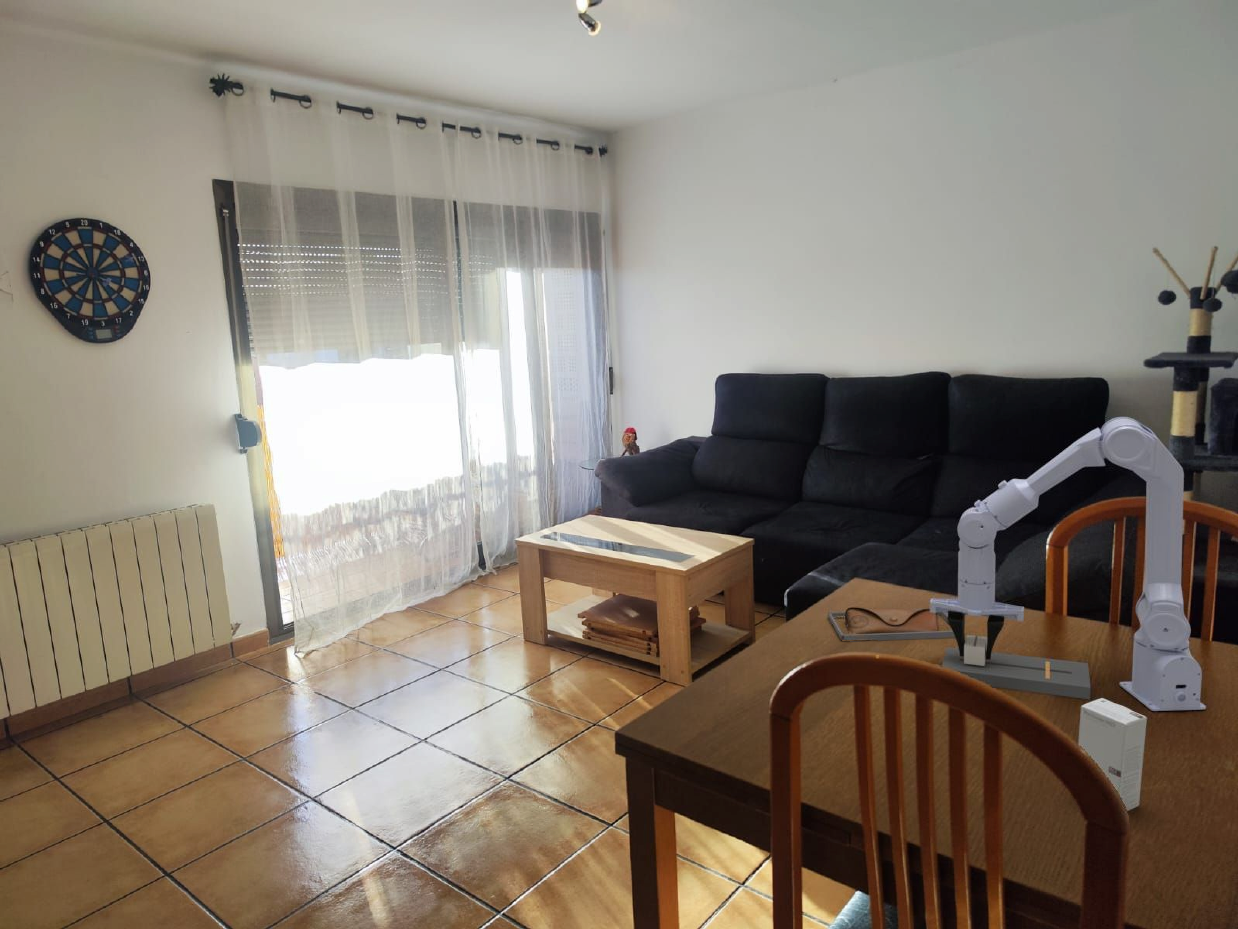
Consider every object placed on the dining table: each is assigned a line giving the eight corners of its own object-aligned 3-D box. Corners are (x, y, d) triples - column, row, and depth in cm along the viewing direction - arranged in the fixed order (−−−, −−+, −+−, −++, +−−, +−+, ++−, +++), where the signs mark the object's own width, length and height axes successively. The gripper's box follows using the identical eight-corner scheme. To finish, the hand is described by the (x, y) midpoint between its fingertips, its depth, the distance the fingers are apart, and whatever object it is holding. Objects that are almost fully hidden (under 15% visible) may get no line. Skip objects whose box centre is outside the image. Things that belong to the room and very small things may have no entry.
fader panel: (1087, 674, 140) (1087, 663, 140) (1090, 699, 131) (1090, 687, 131) (947, 657, 150) (947, 646, 149) (940, 680, 141) (940, 668, 141)
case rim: (964, 637, 158) (964, 631, 158) (841, 641, 160) (841, 635, 160) (941, 613, 171) (941, 608, 171) (828, 618, 173) (828, 612, 172)
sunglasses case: (847, 637, 162) (846, 602, 164) (845, 642, 168) (844, 609, 171) (946, 638, 158) (942, 603, 161) (939, 644, 165) (936, 610, 167)
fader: (986, 654, 144) (986, 636, 144) (984, 666, 140) (984, 647, 139) (966, 652, 146) (966, 634, 145) (963, 663, 141) (964, 645, 141)
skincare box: (1073, 793, 107) (1076, 704, 105) (1096, 783, 109) (1100, 696, 107) (1119, 817, 101) (1123, 724, 99) (1143, 807, 103) (1148, 715, 101)
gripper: (927, 582, 140) (927, 659, 142) (1023, 590, 134) (1021, 670, 136) (932, 570, 146) (932, 644, 149) (1024, 577, 140) (1023, 654, 142)
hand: (975, 655), depth 143 cm, fingers open, 3 cm apart
